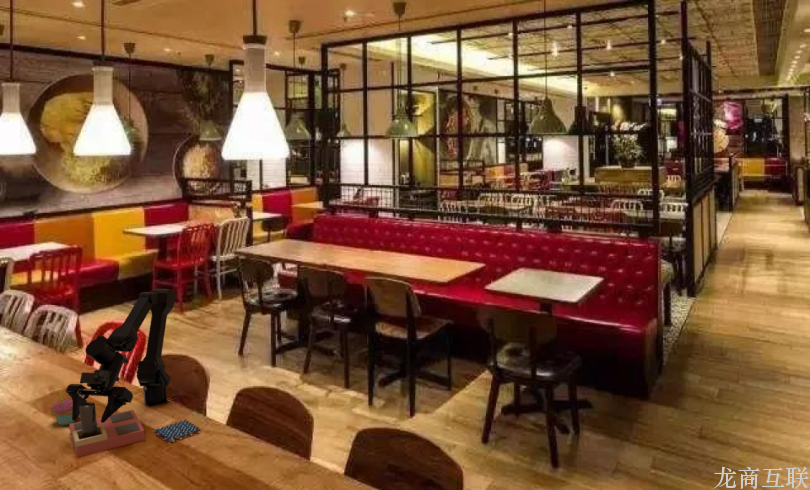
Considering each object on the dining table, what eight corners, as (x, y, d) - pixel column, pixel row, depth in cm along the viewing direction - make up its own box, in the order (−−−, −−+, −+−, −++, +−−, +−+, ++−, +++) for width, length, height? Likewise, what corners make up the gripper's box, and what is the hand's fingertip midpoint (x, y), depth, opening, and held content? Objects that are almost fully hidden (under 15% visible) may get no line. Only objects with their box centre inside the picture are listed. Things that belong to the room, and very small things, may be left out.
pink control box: (133, 418, 196) (132, 405, 195) (145, 439, 181) (144, 425, 180) (70, 433, 186) (69, 419, 185) (77, 456, 171) (75, 441, 170)
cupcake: (68, 428, 189) (65, 391, 187) (45, 426, 191) (41, 389, 189) (88, 417, 197) (85, 381, 196) (65, 415, 199) (62, 380, 197)
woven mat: (152, 435, 185) (152, 429, 184) (185, 424, 192) (185, 418, 192) (168, 446, 178) (167, 439, 177) (202, 434, 185) (201, 427, 185)
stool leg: (100, 443, 179) (97, 401, 177) (95, 450, 175) (91, 407, 173) (86, 444, 178) (82, 402, 176) (81, 451, 174) (76, 408, 172)
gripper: (66, 357, 179) (42, 408, 170) (123, 360, 176) (101, 412, 167) (87, 373, 188) (65, 422, 179) (142, 376, 185) (122, 427, 176)
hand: (87, 421), depth 175 cm, fingers open, 9 cm apart
